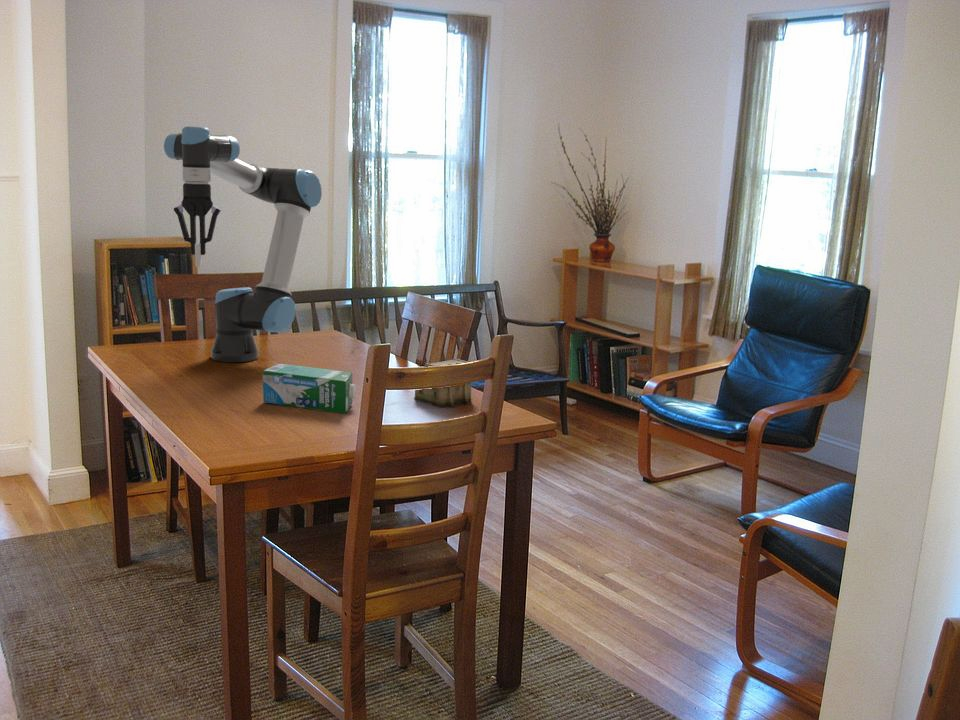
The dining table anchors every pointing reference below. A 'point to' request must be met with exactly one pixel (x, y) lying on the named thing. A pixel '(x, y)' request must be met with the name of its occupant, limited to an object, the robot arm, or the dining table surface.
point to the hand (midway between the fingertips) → (198, 266)
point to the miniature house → (445, 391)
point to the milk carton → (308, 387)
